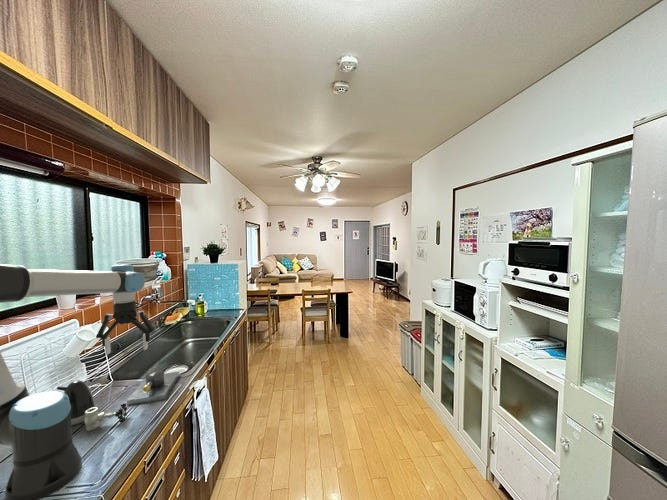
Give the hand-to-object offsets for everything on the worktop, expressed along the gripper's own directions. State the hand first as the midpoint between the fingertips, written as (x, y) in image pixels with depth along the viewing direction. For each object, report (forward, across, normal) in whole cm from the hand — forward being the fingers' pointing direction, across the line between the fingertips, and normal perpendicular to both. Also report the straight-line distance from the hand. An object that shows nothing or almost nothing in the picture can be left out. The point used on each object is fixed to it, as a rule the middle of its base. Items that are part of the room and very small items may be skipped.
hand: (127, 351), depth 120 cm
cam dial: (+19, -8, -3) cm, 20 cm away
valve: (+22, +2, +16) cm, 27 cm away
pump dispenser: (+21, +14, +10) cm, 27 cm away
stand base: (+21, -8, -7) cm, 23 cm away
